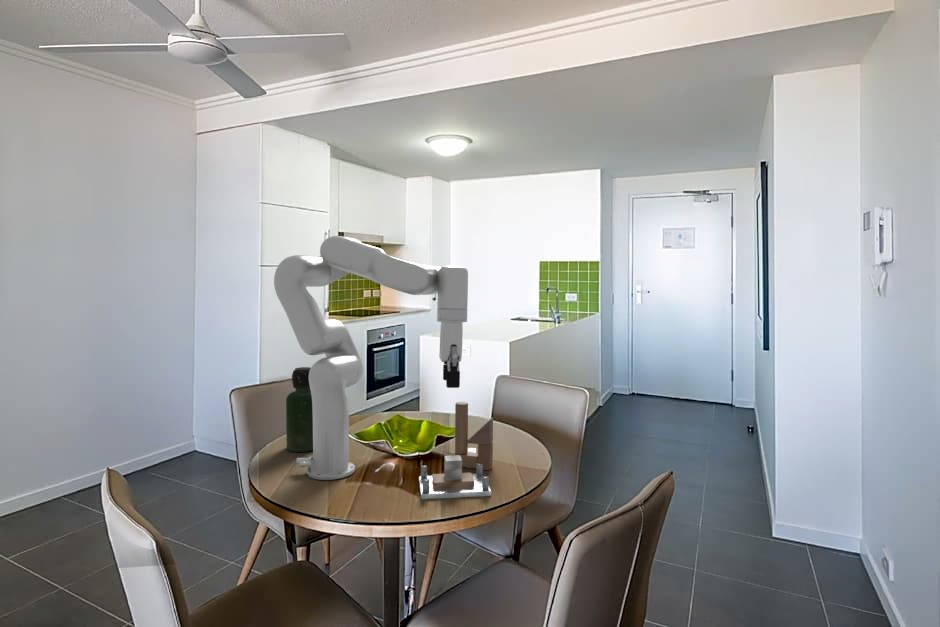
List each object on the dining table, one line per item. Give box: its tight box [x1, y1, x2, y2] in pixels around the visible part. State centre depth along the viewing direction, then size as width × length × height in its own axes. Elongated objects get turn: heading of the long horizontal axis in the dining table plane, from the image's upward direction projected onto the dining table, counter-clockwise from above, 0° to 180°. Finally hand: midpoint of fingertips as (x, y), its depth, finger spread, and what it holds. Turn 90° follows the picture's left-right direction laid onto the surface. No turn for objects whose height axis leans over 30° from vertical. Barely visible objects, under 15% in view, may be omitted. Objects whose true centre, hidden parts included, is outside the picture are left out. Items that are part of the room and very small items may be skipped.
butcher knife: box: [468, 446, 477, 454], centre depth 157 cm, size 5×15×1 cm, turn 177°
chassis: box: [418, 463, 492, 500], centre depth 133 cm, size 17×12×4 cm
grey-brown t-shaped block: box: [431, 455, 474, 489], centre depth 133 cm, size 10×6×6 cm, turn 98°
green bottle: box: [285, 366, 313, 453], centre depth 165 cm, size 10×10×25 cm
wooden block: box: [452, 401, 494, 471], centre depth 149 cm, size 4×11×18 cm, turn 75°
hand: (451, 383), depth 133 cm, fingers open, 9 cm apart
